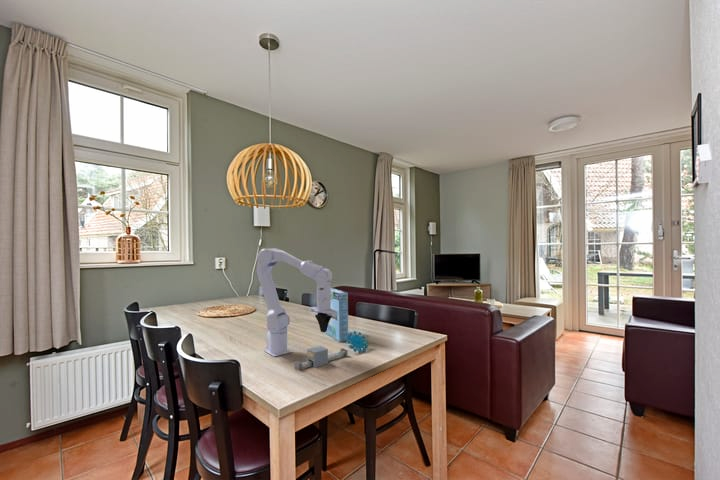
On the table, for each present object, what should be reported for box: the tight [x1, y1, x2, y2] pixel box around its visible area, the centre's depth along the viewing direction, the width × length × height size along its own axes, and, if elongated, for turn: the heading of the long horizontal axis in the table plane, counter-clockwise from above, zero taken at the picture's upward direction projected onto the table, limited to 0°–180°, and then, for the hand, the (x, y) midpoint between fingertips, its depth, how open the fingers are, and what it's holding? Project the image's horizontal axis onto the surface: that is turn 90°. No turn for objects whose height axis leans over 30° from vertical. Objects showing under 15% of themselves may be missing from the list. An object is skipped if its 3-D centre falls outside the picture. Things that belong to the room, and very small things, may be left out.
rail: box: [294, 348, 348, 371], centre depth 123 cm, size 3×22×2 cm, turn 131°
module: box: [306, 345, 329, 368], centre depth 121 cm, size 5×6×6 cm
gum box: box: [324, 287, 349, 343], centre depth 157 cm, size 20×5×23 cm, turn 28°
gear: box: [346, 330, 370, 354], centre depth 137 cm, size 11×6×10 cm
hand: (323, 331), depth 129 cm, fingers closed
